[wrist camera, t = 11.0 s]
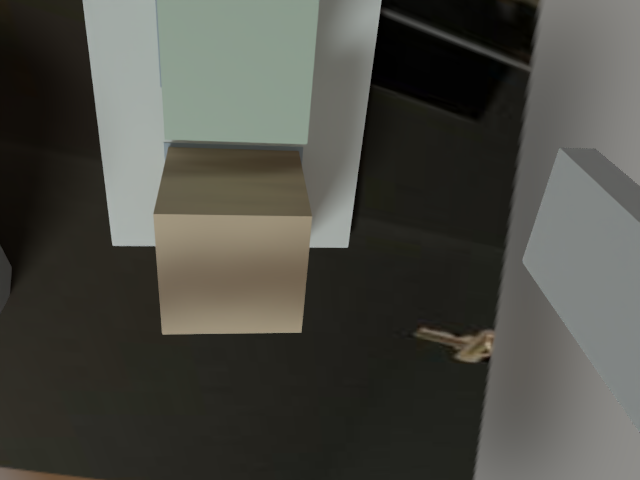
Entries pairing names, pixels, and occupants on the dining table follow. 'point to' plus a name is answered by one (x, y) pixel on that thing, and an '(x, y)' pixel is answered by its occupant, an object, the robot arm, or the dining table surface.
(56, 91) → the dining table surface
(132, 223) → the board
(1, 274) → the cup
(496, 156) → the dining table surface
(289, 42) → the sage block
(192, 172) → the oak base
